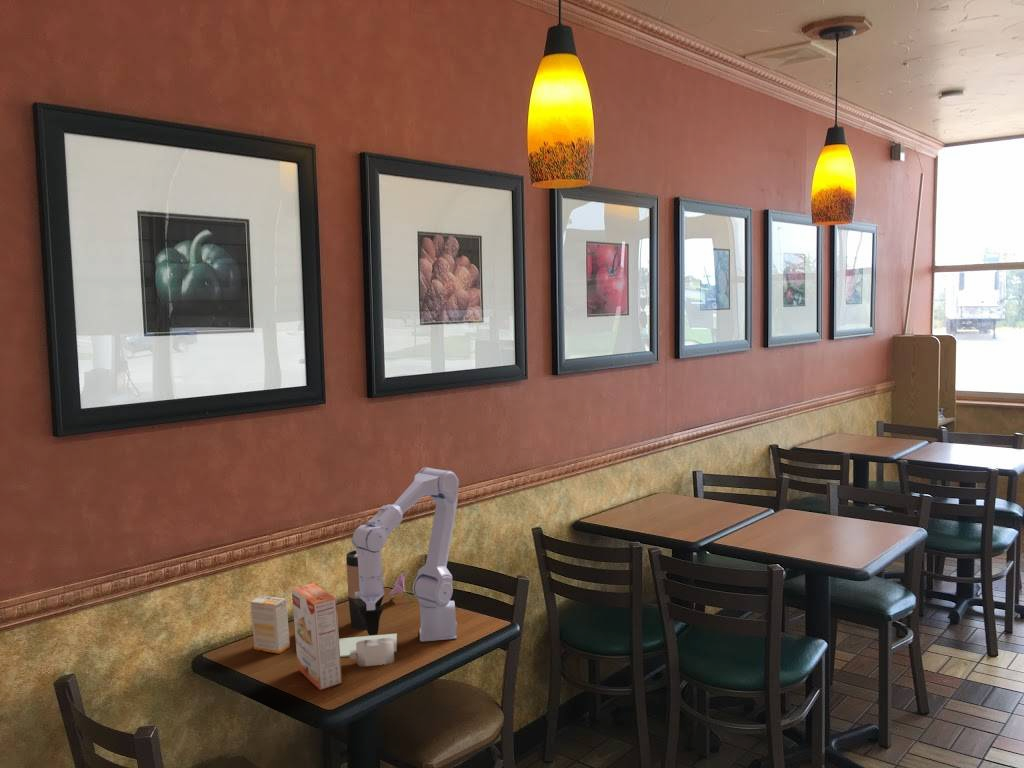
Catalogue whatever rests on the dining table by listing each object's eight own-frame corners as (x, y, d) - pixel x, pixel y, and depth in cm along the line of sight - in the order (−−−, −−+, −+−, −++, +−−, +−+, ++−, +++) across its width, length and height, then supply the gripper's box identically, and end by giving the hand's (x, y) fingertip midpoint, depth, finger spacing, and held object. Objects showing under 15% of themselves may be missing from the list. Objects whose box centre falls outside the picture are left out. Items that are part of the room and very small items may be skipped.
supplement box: (291, 647, 215) (287, 598, 213) (278, 654, 210) (274, 604, 209) (266, 642, 218) (262, 594, 217) (253, 649, 214) (249, 600, 212)
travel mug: (384, 621, 229) (379, 551, 227) (365, 631, 223) (360, 559, 220) (363, 617, 233) (359, 547, 231) (344, 626, 227) (339, 555, 225)
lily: (412, 594, 252) (395, 568, 252) (433, 588, 244) (416, 561, 244) (385, 618, 244) (367, 591, 243) (406, 612, 236) (387, 584, 235)
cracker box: (296, 671, 200) (290, 587, 198) (319, 663, 204) (314, 581, 202) (318, 692, 189) (312, 603, 187) (343, 684, 192) (337, 597, 190)
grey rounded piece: (394, 656, 206) (393, 637, 206) (394, 663, 202) (393, 643, 202) (351, 660, 205) (350, 641, 204) (350, 667, 201) (348, 647, 200)
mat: (396, 634, 220) (396, 633, 219) (396, 652, 209) (396, 650, 209) (335, 640, 218) (335, 638, 217) (331, 658, 207) (331, 656, 207)
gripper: (355, 566, 208) (358, 618, 209) (352, 585, 194) (355, 641, 195) (384, 564, 209) (386, 616, 210) (382, 583, 195) (385, 638, 196)
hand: (373, 628), depth 203 cm, fingers open, 7 cm apart
